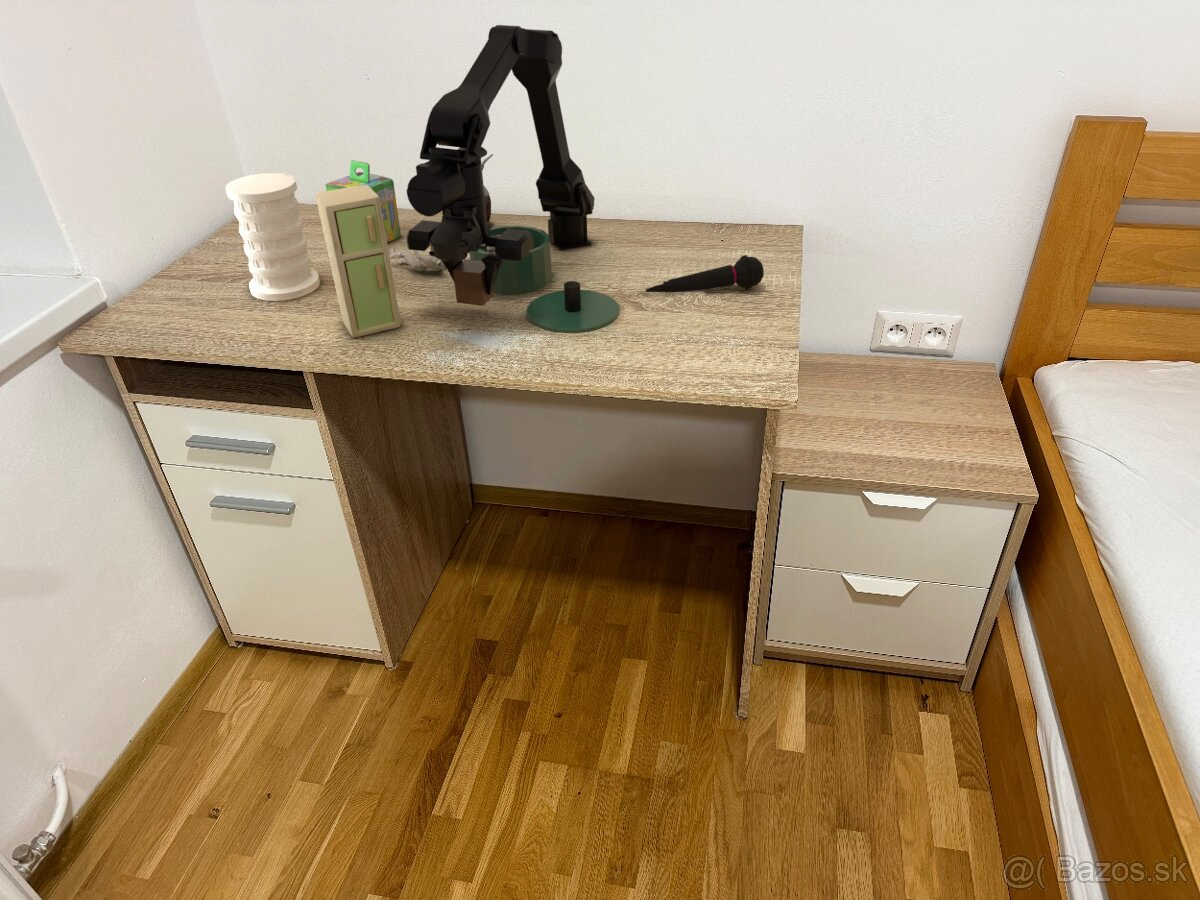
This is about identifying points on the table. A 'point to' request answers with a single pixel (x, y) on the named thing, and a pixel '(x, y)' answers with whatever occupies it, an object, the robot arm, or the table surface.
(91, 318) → the table surface
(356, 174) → the chalk box
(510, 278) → the tin
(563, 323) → the lid
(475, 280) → the block
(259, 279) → the decorative container
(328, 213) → the toy refrigerator
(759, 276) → the microphone
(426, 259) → the soldier figure
